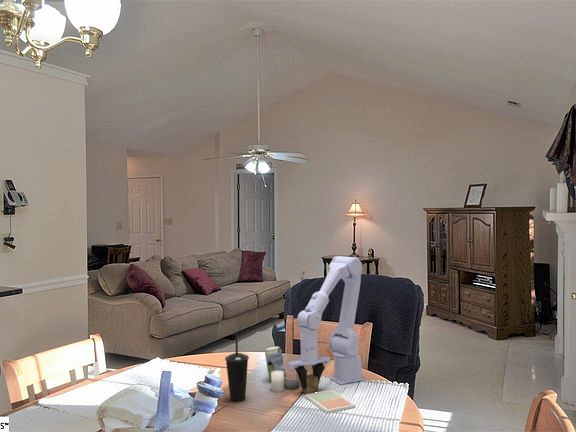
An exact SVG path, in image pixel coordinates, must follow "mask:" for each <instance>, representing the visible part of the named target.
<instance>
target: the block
mask: <svg viewBox="0 0 576 432" xmlns="http://www.w3.org/2000/svg"><path fill="white" fill-rule="evenodd" d="M301 390H302V392H304V393H305V395H306V394H311V393H315V392H319V386H318V377H316V376H315V375H313V373H310V374H309V375H307V376H306V389H303V388H301Z"/></svg>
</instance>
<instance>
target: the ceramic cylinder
mask: <svg viewBox="0 0 576 432" xmlns="http://www.w3.org/2000/svg"><path fill="white" fill-rule="evenodd" d="M284 381H285V378H284V371H281V370H275V371H272V372H271V380H270V382H271V385H270V386H271V387H270V388H271V391H272V392H274V393H282V392H284V391H285V389H284Z"/></svg>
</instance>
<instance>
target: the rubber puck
mask: <svg viewBox="0 0 576 432" xmlns="http://www.w3.org/2000/svg"><path fill="white" fill-rule="evenodd" d="M299 387H300V386H298V381H297V379H287V380H284V390H287V391H295V390H298V389H299Z"/></svg>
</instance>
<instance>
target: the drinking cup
mask: <svg viewBox="0 0 576 432" xmlns="http://www.w3.org/2000/svg"><path fill="white" fill-rule="evenodd" d="M234 341H235V352H233V353H231V354H229V355H226V356H225V358H224V360H225V363H226V364H225V365H226V371H227V372H226V373H227V381H228V382H227V383H228V389H229V397H230V398H229V399H230V402H234V403H240V402H244V401H246V393H247V380H248V379H247V378H248V366H249V365H248V364H249V358H250V356H249V355H247V354H244V353H241V352H239V348H238V347H239V345H238V343H239V342H238V341H239V339H238V337H235V340H234Z"/></svg>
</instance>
